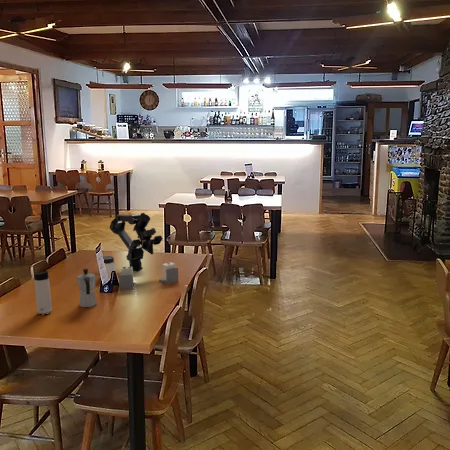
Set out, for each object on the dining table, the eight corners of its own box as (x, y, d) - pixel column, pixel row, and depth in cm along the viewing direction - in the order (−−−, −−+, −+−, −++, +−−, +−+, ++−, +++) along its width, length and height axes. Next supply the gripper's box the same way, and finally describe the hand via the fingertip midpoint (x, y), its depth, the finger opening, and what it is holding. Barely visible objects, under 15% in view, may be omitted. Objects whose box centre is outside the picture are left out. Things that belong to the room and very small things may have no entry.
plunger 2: (163, 279, 265) (162, 263, 263) (171, 277, 268) (170, 261, 267) (167, 281, 262) (166, 265, 260) (175, 278, 266) (174, 263, 264)
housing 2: (158, 280, 266) (158, 267, 265) (169, 278, 271) (168, 264, 270) (168, 284, 260) (167, 270, 259) (178, 281, 265) (177, 267, 264)
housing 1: (121, 284, 261) (121, 270, 259) (135, 284, 261) (134, 270, 260) (119, 289, 253) (118, 275, 251) (133, 289, 253) (132, 274, 251)
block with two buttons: (123, 282, 260) (122, 266, 259) (133, 282, 261) (132, 266, 259) (122, 284, 256) (121, 268, 255) (132, 284, 257) (131, 268, 255)
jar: (99, 276, 277) (97, 256, 274) (113, 274, 280) (112, 255, 277) (101, 280, 268) (100, 260, 266) (116, 278, 272) (114, 258, 269)
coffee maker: (77, 301, 235) (75, 266, 232) (96, 299, 238) (93, 264, 235) (80, 312, 222) (77, 274, 218) (99, 309, 225) (96, 272, 221)
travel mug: (43, 316, 217) (39, 274, 213) (34, 313, 220) (30, 272, 217) (55, 312, 222) (51, 270, 218) (46, 309, 226) (42, 268, 222)
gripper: (131, 226, 267) (142, 248, 260) (160, 221, 278) (171, 243, 272) (125, 237, 274) (136, 259, 268) (153, 233, 286) (164, 254, 280)
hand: (152, 254), depth 272 cm, fingers closed
